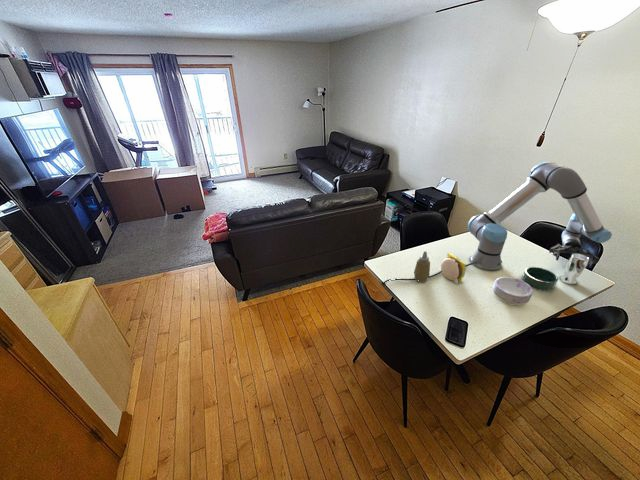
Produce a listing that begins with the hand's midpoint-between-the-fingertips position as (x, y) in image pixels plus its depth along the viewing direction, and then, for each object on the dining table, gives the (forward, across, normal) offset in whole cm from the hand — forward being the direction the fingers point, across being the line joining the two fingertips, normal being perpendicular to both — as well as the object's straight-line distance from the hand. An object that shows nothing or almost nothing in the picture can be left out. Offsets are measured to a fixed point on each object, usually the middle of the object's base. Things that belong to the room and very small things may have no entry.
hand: (574, 262), depth 137 cm
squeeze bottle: (+45, +64, -9) cm, 79 cm away
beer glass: (+5, 0, -9) cm, 10 cm away
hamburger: (+34, +52, -9) cm, 63 cm away
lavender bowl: (+37, +24, -9) cm, 45 cm away
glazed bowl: (+16, +13, -9) cm, 22 cm away
